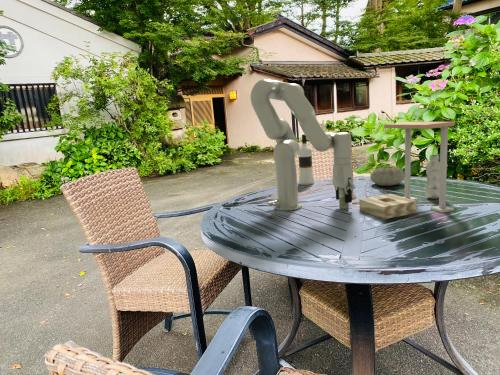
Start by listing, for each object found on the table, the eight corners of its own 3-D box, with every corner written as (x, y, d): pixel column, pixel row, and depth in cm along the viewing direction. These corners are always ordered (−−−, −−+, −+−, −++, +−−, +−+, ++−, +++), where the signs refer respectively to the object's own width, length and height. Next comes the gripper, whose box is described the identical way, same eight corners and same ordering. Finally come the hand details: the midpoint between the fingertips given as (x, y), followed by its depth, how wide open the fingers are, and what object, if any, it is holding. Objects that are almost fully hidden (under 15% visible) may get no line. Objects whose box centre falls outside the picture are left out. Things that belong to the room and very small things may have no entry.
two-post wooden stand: (426, 215, 144) (427, 124, 137) (383, 202, 168) (382, 124, 161) (454, 210, 148) (457, 121, 141) (408, 197, 172) (408, 121, 165)
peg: (342, 210, 161) (341, 185, 159) (337, 208, 165) (336, 184, 162) (350, 208, 162) (349, 184, 160) (345, 206, 166) (344, 183, 164)
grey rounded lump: (364, 184, 210) (364, 166, 208) (390, 180, 215) (390, 163, 213) (384, 189, 193) (384, 170, 191) (412, 185, 198) (412, 166, 196)
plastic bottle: (443, 199, 164) (444, 155, 160) (427, 200, 166) (428, 156, 162) (439, 196, 170) (440, 153, 166) (423, 196, 172) (424, 154, 168)
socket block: (383, 219, 144) (383, 207, 143) (359, 210, 159) (359, 199, 158) (416, 212, 148) (416, 201, 147) (390, 204, 163) (390, 193, 162)
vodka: (296, 183, 226) (294, 134, 220) (310, 181, 228) (308, 133, 222) (302, 186, 217) (299, 135, 211) (316, 184, 219) (314, 134, 213)
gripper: (325, 160, 166) (326, 198, 170) (346, 164, 150) (347, 206, 153) (339, 158, 168) (340, 196, 172) (361, 162, 152) (362, 203, 156)
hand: (343, 200), depth 163 cm, fingers open, 6 cm apart
